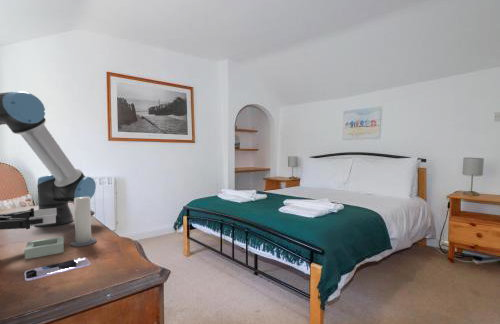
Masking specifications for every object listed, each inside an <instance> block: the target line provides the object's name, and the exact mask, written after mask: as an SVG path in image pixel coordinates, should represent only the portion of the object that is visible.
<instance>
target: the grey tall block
mask: <svg viewBox="0 0 500 324" xmlns="http://www.w3.org/2000/svg"><path fill="white" fill-rule="evenodd" d="M73 204H74V232H75V240H76V243H85V242H89V241H91V240H92V238H93V237H92V214H91V213H92V212H91V199H90V197H77V198H74V202H73Z"/></svg>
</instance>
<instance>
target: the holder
mask: <svg viewBox="0 0 500 324" xmlns="http://www.w3.org/2000/svg"><path fill="white" fill-rule="evenodd" d="M64 238H65V237H64V236H63V235H62V236H55V237H50V238H44V239H37V240H36V239H35V240H31V241H27V243H26V245H25V248H24V260H28V259H33V258H41V257H45V256H46V257H47V256H51V255H57V254H63V253H64V251H65V250H64V249H65V248H64V247H65V241H64Z"/></svg>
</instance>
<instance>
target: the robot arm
mask: <svg viewBox="0 0 500 324" xmlns="http://www.w3.org/2000/svg"><path fill="white" fill-rule="evenodd" d="M45 111H46V108H45V106H44V103H43V102H42V101H41V99H39V98H38V96H36V95H34V94H33V93H30V92H28V91H27V92H26V91H19V90H18V91H16V90H15V91H8V92H0V126H2V125H6V127H8V128H9V129H10V131H11V132H12V134H16V135H20V136H21V137H22V139H23V140H24V141H25V142H26V143H27V145H28V146H29V147H30V149H31V150H32V151H33V153H34V154H35V155H36V156H37V157H38V158H39V160H40V162H41V163H42V164H43V165H44V166H45V168H46V169H47V170H48V171H49V173H50V174H49V175H43V176H40V177H38V178H37V184H36V187H37V200H38V201H37V202H38V203H37V205H38V208H37V209H35V208H33V207H32V208H30V209H26V210H21V211H13V212H9V213H0V231H1V230H3V231H4V230H17V229H18V230H19V229H26V230H30V229H31V227H53V226H61V225H64V224H68V223H71V222H73V221H74V216H73V213H72V211H71V208H70V207H69V202H70V203H71V202H72V203H74V198H77V197H90V200H91V199H92V198H93V196H94V195H95V193H96V189H97V185H96V180H95V179H93V177H90V176H86V175H85V174H84V173H83V171H82V170H81V169H79V168H75V166H74V165H73V164H72V162H71V161H70V159H69V158H68V156H67V155H66V154H65V152H64V151H63V149H62V148H61V146H60V144H58V142H57V140H55V137H53V135H52V134H51V133H50V131H49V130H48V128H47V127H46V125H45V123H46V122H47V121H46V117H45V115H46V112H45Z"/></svg>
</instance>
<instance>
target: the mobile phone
mask: <svg viewBox="0 0 500 324" xmlns="http://www.w3.org/2000/svg"><path fill="white" fill-rule="evenodd" d="M90 265H91V262H90V260H89V259H88V258H87V257H85V256H84V257H77V258H75V259H71V260H70V259H68V260H66V261H62V262H57V263H53V264H49V265H43V266H40V267H36V268H35V267H34V268H31V269H28V270H25V271H24V273H23V275H24V280H25V281H26V282H27V281H33V280H34V281H35V280H38V279H41V278H45V277H49V276H53V275H54V276H55V275H57V274H62V273H64V272H65V273H66V272H69V271H73V270H77V269H80V268H86V267H88V266H89V267H90Z"/></svg>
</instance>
